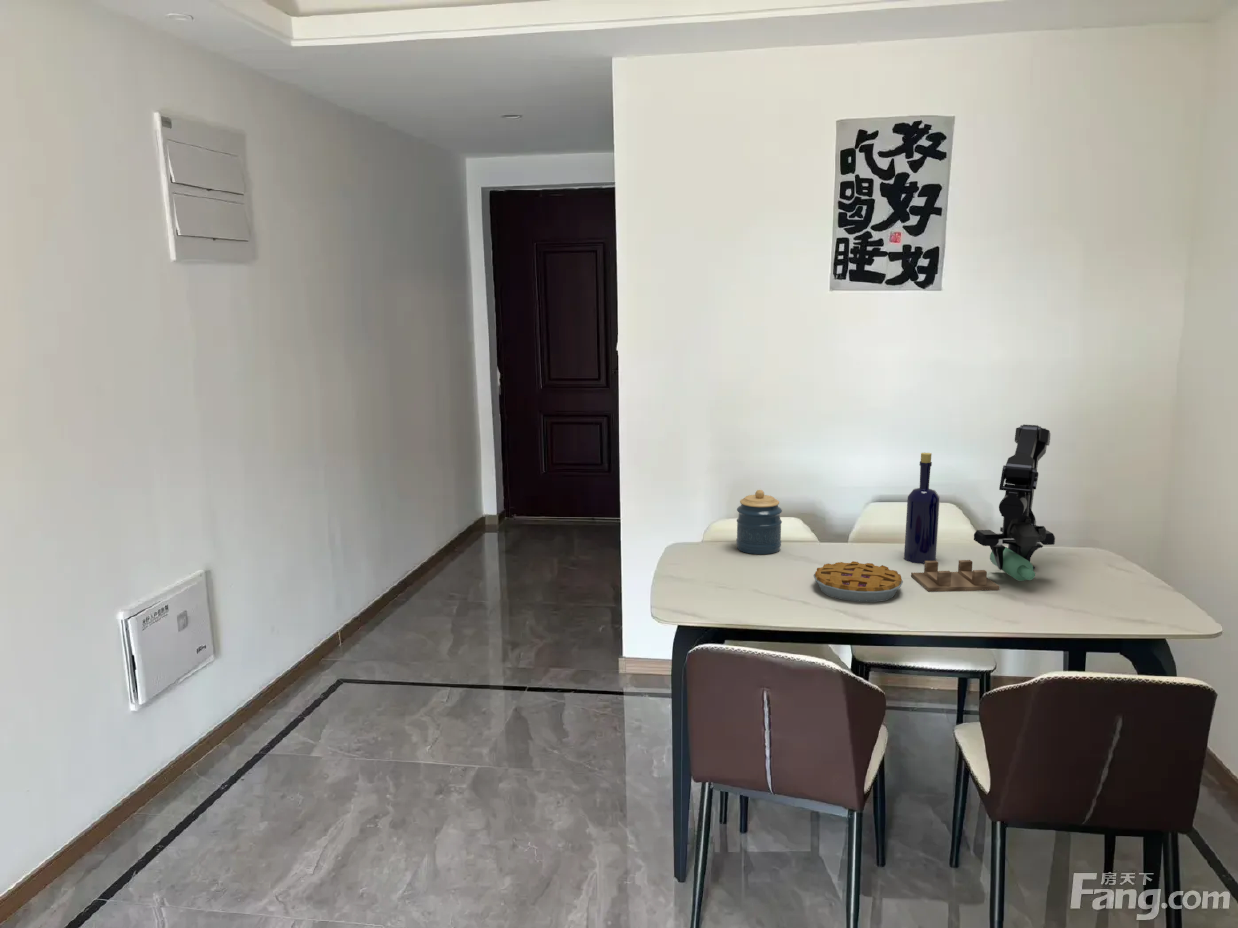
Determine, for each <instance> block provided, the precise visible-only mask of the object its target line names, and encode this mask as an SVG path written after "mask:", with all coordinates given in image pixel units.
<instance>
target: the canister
mask: <svg viewBox="0 0 1238 928" xmlns="http://www.w3.org/2000/svg"><path fill="white" fill-rule="evenodd" d="M739 503H740V505H739V506H737V508H736V511H737V512H738V516H737V519H736V526H737V528H736V542H735V543H736V544H735V545H736V547H737V549H738V551H740V552H743V553H745V554H751V555H771V554H775V553H777V552H779V551H780V550H781V546H782V540H781V539H782V537H781V535H782V523H783V521H782V520H781V514H782V512H783V509H782V508H781V507H779V504H780V501H779V500H778V499H776V498H775V497H774V496H772V495H768V494H765V492H764V491H763V490H762V489H757V490H755V492H754V494H749V495H746V496H744V498H741V499H740V500H739Z"/></svg>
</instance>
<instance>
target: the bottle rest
mask: <svg viewBox="0 0 1238 928" xmlns="http://www.w3.org/2000/svg"><path fill="white" fill-rule="evenodd" d="M923 565H924V568H923V572H911V574H910V577H911V578H912V579H913V580H915V581H916V582H917V583H918V584H919V585H920V586H921V587H922V588H924V589H925V590H926V591H928V592H929V593H930V592H931V593H932V592H965V591H966V592H967V591H970V592H971V591H973V592H974V591H978V592H979V591H1000V589H1001V588H1000V585H999V584H997V583H996V582H995V581H993V580H991V579H990V578H989V577H988V571H987V570H985V569H973V561H972V560H971V559H960V560H959V559H958V567H957V571H950V570H939V561H937V560H936V561H925V564H923Z"/></svg>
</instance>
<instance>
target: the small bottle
mask: <svg viewBox="0 0 1238 928" xmlns="http://www.w3.org/2000/svg"><path fill="white" fill-rule="evenodd" d="M989 560H990V563H992V565H994V566H995V567H997V568H998V565H997V563H996V560H995V557H994V554H993V552H992V551H991V552H990V555H989ZM1033 566H1034V564H1033V563H1032V562H1031V561H1030V562H1029V561H1028V560H1026V559H1025V558H1023V557H1021V556H1020V555H1018V554H1017V553H1015V552H1013V551H1012V550H1010V549H1008V546H1007V547H1006V546H1005V549H1004V551H1003V567H1002V570H1001V571H1003V572H1004V573H1005V574H1008V575H1009V576H1010V577H1012V578H1013V579H1015V580H1016V581H1020V582H1022V581H1032V580H1033V579H1035V577H1036V572H1035V571H1034V569H1033Z"/></svg>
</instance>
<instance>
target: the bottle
mask: <svg viewBox="0 0 1238 928" xmlns="http://www.w3.org/2000/svg"><path fill="white" fill-rule="evenodd" d="M932 455H933V454H932V452H921V453H920V461H919V466H920V467H919V470H920V471H919V487H917V488H913V489H912V491H911V492H909V494H908V495H907V500H906V503H907V504H906V520H905V535H904V536H905V537H904V538H905V539H904V553H903V554H904V555H903V560H905V561H907V562H910V563H914V564H922V565H925V561H937V551H938V550H937V549H938V537H939V536H938V532H939V518H940V517H939V515H940V500H941V498H940V495H939V493H937V491H936V490H935V489H932V488H930V479H931V467H932V465H933V462H932Z"/></svg>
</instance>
